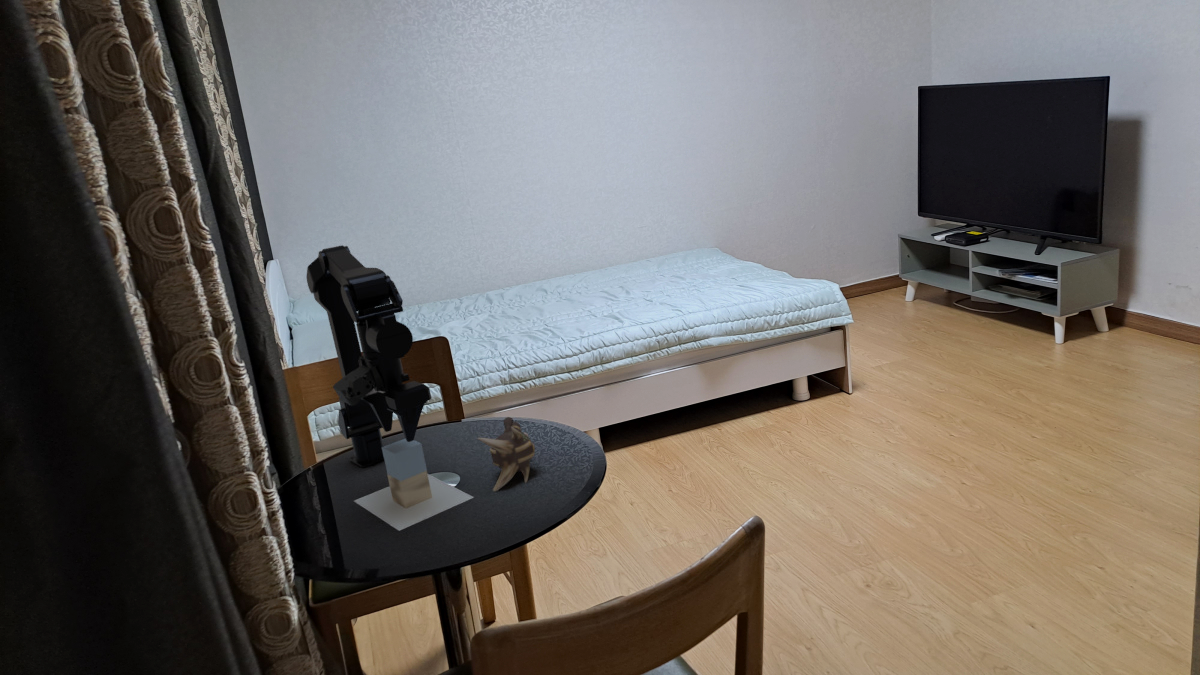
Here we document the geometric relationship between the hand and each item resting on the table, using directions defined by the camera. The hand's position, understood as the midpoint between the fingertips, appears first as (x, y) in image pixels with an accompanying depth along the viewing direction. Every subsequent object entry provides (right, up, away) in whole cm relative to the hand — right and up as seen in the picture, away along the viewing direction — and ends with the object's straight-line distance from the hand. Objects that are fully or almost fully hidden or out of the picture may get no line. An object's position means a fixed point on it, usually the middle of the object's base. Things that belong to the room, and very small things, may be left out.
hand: (399, 436), depth 142 cm
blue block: (+1, -6, +2) cm, 7 cm away
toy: (+19, -8, +9) cm, 23 cm away
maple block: (+2, -11, +3) cm, 12 cm away
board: (+2, -12, +3) cm, 12 cm away
